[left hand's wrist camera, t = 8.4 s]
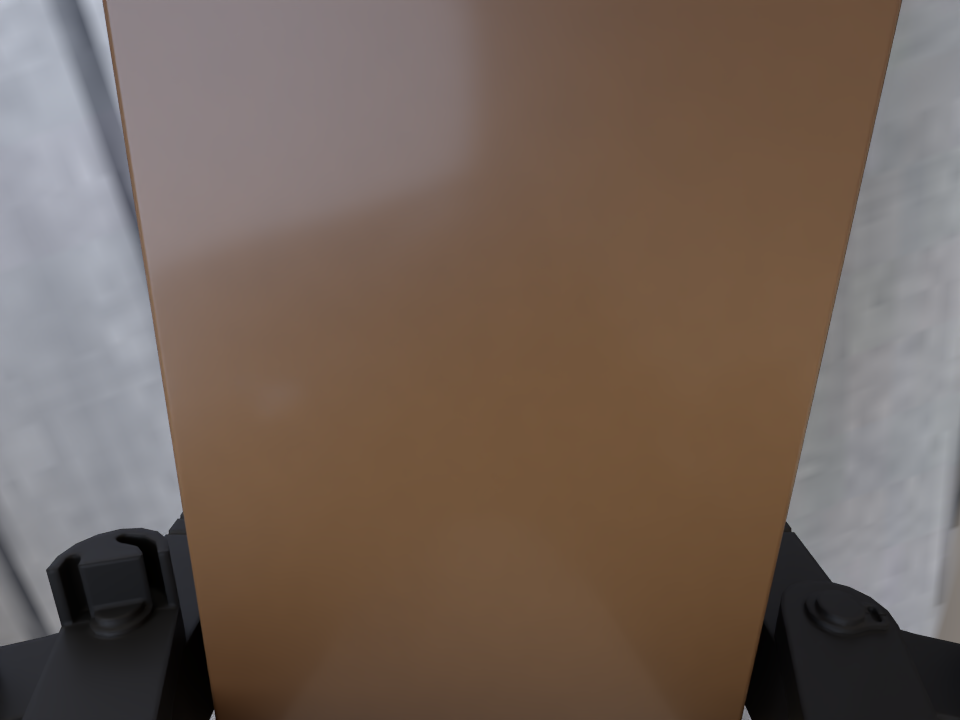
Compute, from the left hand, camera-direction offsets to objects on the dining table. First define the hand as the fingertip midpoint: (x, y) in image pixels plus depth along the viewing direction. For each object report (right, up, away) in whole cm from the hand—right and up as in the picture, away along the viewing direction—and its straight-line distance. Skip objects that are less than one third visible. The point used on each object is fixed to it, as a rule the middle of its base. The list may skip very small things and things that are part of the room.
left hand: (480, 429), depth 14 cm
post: (+1, +24, -8) cm, 26 cm away
